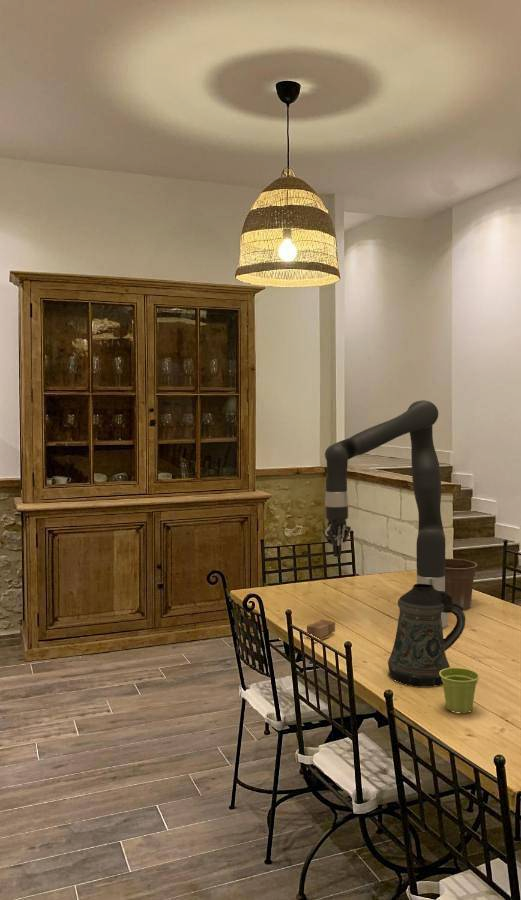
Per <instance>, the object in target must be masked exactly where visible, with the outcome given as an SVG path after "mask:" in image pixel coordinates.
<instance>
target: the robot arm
mask: <svg viewBox="0 0 521 900" xmlns="http://www.w3.org/2000/svg"><path fill="white" fill-rule="evenodd" d="M438 418H439V410H438V407H437V406H436V405H435V403H433V402H431V401H429V400H422V399H421V400H416V401H415V402H413V403H411V404H410V405H409V406H408V408H407V410H406V411H404V412H403V413H401V414H399V415H397V416H396V417H394V418H391V419H389V420H387V421H384V422H382V423H378V424H375V425H373V426H371V427H369V428H366V429H364V430H362V431H359V432H357V433H355V434H353V435H352V436H350V437H349V438H345V439H343V440H341V441H338V442H335V443H332V444H331V445H329V446H328V447H326V449H325V452H324V457H325V460H326V477H325V498H324V499H325V500H324V501H325V508H324V509H325V511H324V512H325V519H326V520H327V521H328V522H327V528H326V529H324V530H322V533H323V535H324V537H325V540H326V541H327V543H328V544H330V545H332V555H333V557H335V558H338V557H342V546H343V544H344V543H346V541H347V539H348V537H349V535H350V531H351V529H352V528H351V526H348V525H347V520H348V519H349V495H348V477H347V476H348V475H347V474H348V473H347V472H348V464H349V463H348V462H349V460H350V459H352V458H355V457H357V456H361V455H364V454H367V453H369V452H371V451H373V450H375V449H377V448H379V447H382V446H383V445H385V444H387V443H389V442H391V441H393V440H395V439H397V438H398V437H401V436H404V435H407V434H409V436H410V446H411V453H410V454H411V459H410V461H411V477H412V479H411V480H412V487H413V494H414V495H413V496H414V499H415V502H416V507H417V511H418V514H417V515H418V533H417V536H416V584H428V585H432V586H433V587H434V589H436V590H437V591H445V559H446V534H445V532H444V526H443V521H442V513H441V504H442V479H441V478H442V477H441V468H440V462H439V459H438V456H437V452H436V449H435V446H434V439H433V437H434V436H433V435H434V434H433V425H435V423H436V422H437V421H438ZM441 621H442V629H444V628H446V627H448V613H444V612H442V613H441Z"/></svg>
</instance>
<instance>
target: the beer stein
mask: <svg viewBox="0 0 521 900" xmlns="http://www.w3.org/2000/svg"><path fill="white" fill-rule="evenodd" d="M397 607H398V610H399V613H398V614H399V615H398V620H397V627H396V631H395V632H396V633H395V638H394V641H393V642H394V643H393V647H392V650H391V653H390V656H389V658H388V660H387V666H388V671H389V673H388V675H389V674H390V675H389V677H390V676H391V677H390V678H391V679H393V680H392V681H394V680H396V681H398V682H397V683H399V682H401V683H403V684H402V685H404V684H407V685H406V686H409V685H412V686H411V687H415V686H419V687H418V688H421V687H420V686H433V687H435V686H434V685H439V686H441V685H440V684H442V683H443V682H442V680H441V677H440V675H439V672H440V671H441V670H443V669H446V668H451V666H450V663H449V661H448V658H447V656H446V655H447V654H446V651H447V650H449V649H450V648H451V647H452V646H453V645H454V644H455V643H456V642H457V641H458V639H459V638H460V637H461V636H462V633H463V632H464V630H465V626H466V619H467V618H466V614H465V612H464V611H465V610H464V609H463V608H462V607H461V606H460V605H458V604H457V603H456V602H452V598H451V596H449V594H448V593H447V592H445V591H437V590H436V589H434V587H433V586H432V585H428V584H417V583H416V584H413V586H412V588H411V589H410V590H408V591H407V592H405V593H404V594H403V595H401V596H400V597H399V599H398V600H397ZM442 612H444V613H447V614H453V615H454V616H455V617H456V623H455V625H454V627H453V628H452V630H451V631H450V633H449V634H447V636H446V637H445V638H444V631H443V630H444V628H442V621H441V613H442ZM396 681H395V682H396ZM401 683H400V684H401ZM442 685H443V684H442Z"/></svg>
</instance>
